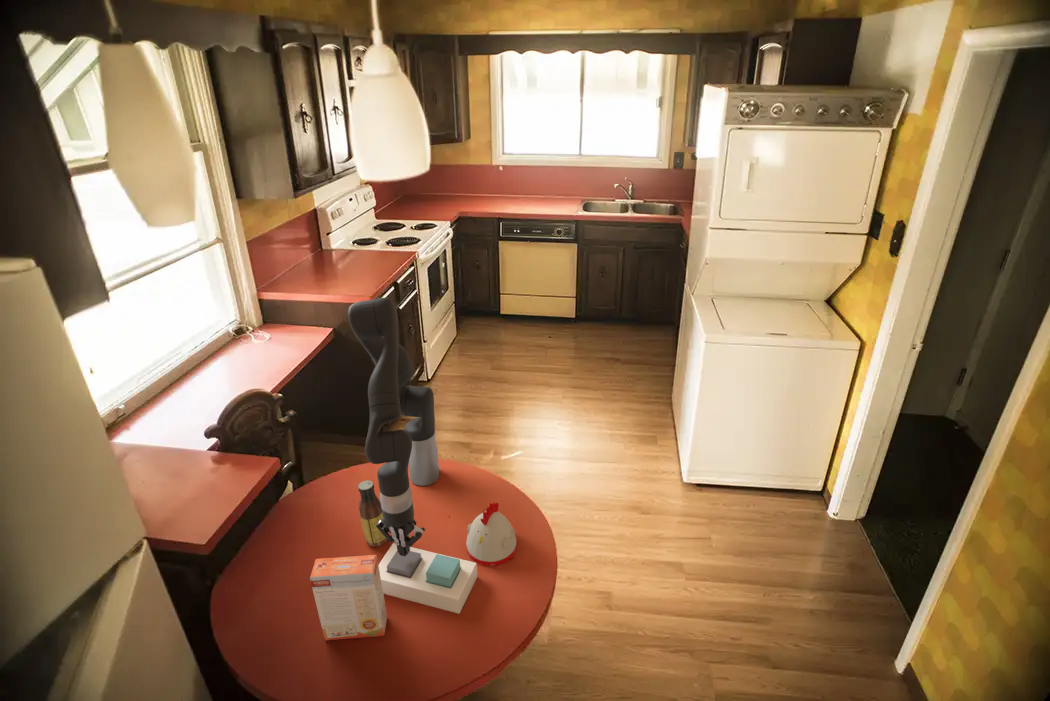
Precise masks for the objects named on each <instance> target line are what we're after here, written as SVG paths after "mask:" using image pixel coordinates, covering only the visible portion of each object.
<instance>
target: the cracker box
mask: <svg viewBox="0 0 1050 701" xmlns="http://www.w3.org/2000/svg"><path fill="white" fill-rule="evenodd" d="M378 565H379V561H378V556H377V554H371V555H369V554H368V555H356V556H354V555H353V556H341V557H340V556H339V557H323V558H321V557H320V558H316V559H315V560H314V564H313V567H312V570H311V574H310V577H309V580H310V584H311V588H312V592H313V597H314V600H315V601H314V602H315V606H316V609H317V612H318V613H317V614H318V618H319V622H320V626H321V630H322V633H323V634H322V635H323V637H324V638H323V639H324V640H325V641H335V640H349V639H362V638H373V637H374V638H375V637H384V636H385V632H386V627H387V626H386V625H387V621H388V614H387V613H388V612H387V608H386V601H385V596H384V595H385V594H383V589H382V583H381V577H380V571H379V566H378Z"/></svg>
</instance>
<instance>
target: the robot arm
mask: <svg viewBox="0 0 1050 701" xmlns="http://www.w3.org/2000/svg"><path fill="white" fill-rule="evenodd" d="M347 319H348V322H349V326H350V329H351V331H352V332H353V334H354V336H355V338H356V339H357V340H358V342H360V344H361V346H362V347H363V348H364V349H365V351H366V352H367V354H368V355H369V357H370V358H371V360H372V362H373V364H374V366H375V367H374V369H373V371H372V373H371V375H370V378H369V381H368V385H367V386H368V387H367V397H368V398H367V399H368V408H369V422H368V423H369V424H368V430H367V436H366V439H365V446H364V454H365V458H366V459H367V461H368V462H369V463H370V464H373V465H381V464H382V465H381V466H380V467H379V468H378V469H377V475H376V476H377V482H378V488H379V501H380V503H381V509H382V515H383V518H381V519H380V521H379V522H378V523H377V525H376V527H377V528H378V530H379V531H380V532H381V533H382V534H383V535H384V536H385V537H386V538H387V541H388V542H389V543H395V544H396V545H397V551H398V553H399V555H401V556H406V555H407V554H408V553H409V551H410V547H412V546H414V544H415V543H416V542H418V541H419V539H421V538H422V536H423V534H424V532H425V531H426V528H425V527H422V526H421V527H419V526H417V521H416V520H415V510H414V503H413V502H414V501H413V494H412V489H411V485H410V481H411V483H412V484H414V485H416V486H419V487H420V486H421V487H426V486H429V485H432V484H434V483H436V482H437V481H438V479H439V477H440V473H439V471H440V465H439V453H438V446H437V439H436V428H435V426H436V423H435V421H436V419H435V397H434V391H433V390H432V388H431V387H429V386H416V385H409V384H408V383H409V382H410V380H411V378H412V377H413V375H414V374H413V373H414V364H413V361H412V359H411V356H410V355H409V352H408V351H407V349H406V348H405V347H404V346H403V345H402V344H400V343H399V333H400V332H399V315H398V311H397V307H396V304H395V302H394V301H393V300H392V298H390V297H378V298H375V299H374V298H372V299H368V300H361V301H357V302H354V303H352V304H351V305H350V306H349V307H348V310H347ZM401 416H405V417H413V419H411V420H409V421H408V422H407V423H405V425H404V429H396V430H389V431H381V429H382V428H383V427H384V425H386V424H388V423H391V422H394V421H397V420H398V419H399V418H400V417H401ZM380 431H381V432H380ZM409 478H410V479H409ZM412 532H413V535H411V536H410V534H411V533H412ZM389 533H390V534H389Z"/></svg>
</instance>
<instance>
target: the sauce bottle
mask: <svg viewBox="0 0 1050 701" xmlns="http://www.w3.org/2000/svg"><path fill="white" fill-rule="evenodd" d="M357 488H358V492H359V493H360V495H359V496H360V500H359V502H358V510H359V517H360V521H361V525H362V530H363V534H364V538H365V541H366V543H367V545H368V546H370V547H374V548H376V547H380V546H383V545H384V544H385V543H387V541H388V539H387V538H386V537H385V536H384V535H383V534H382V533H381V532H380V531H379V530H378V528H377V527H376V525H377V523H378V522H379V521H380V519H381V518H383V515H382V509H381V502H380V499H379V498H378V497H377V495H376V492H375V485H374V482H373V481H371V480H369V479H368V480H363V481H361V482H359V484H358V486H357Z"/></svg>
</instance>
